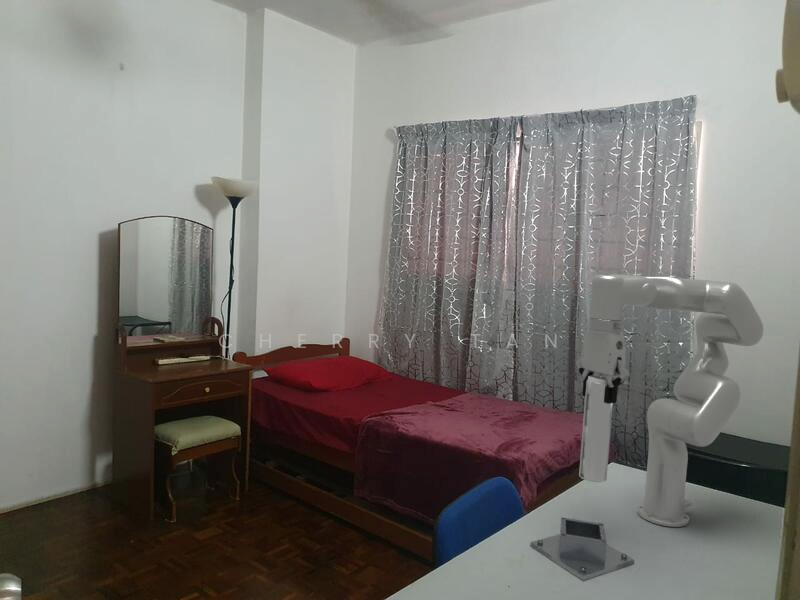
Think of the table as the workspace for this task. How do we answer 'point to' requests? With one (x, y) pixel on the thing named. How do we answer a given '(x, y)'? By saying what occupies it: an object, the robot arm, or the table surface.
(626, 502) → the table surface
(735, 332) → the robot arm
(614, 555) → the metal base plate
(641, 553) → the table surface
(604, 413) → the air filter
